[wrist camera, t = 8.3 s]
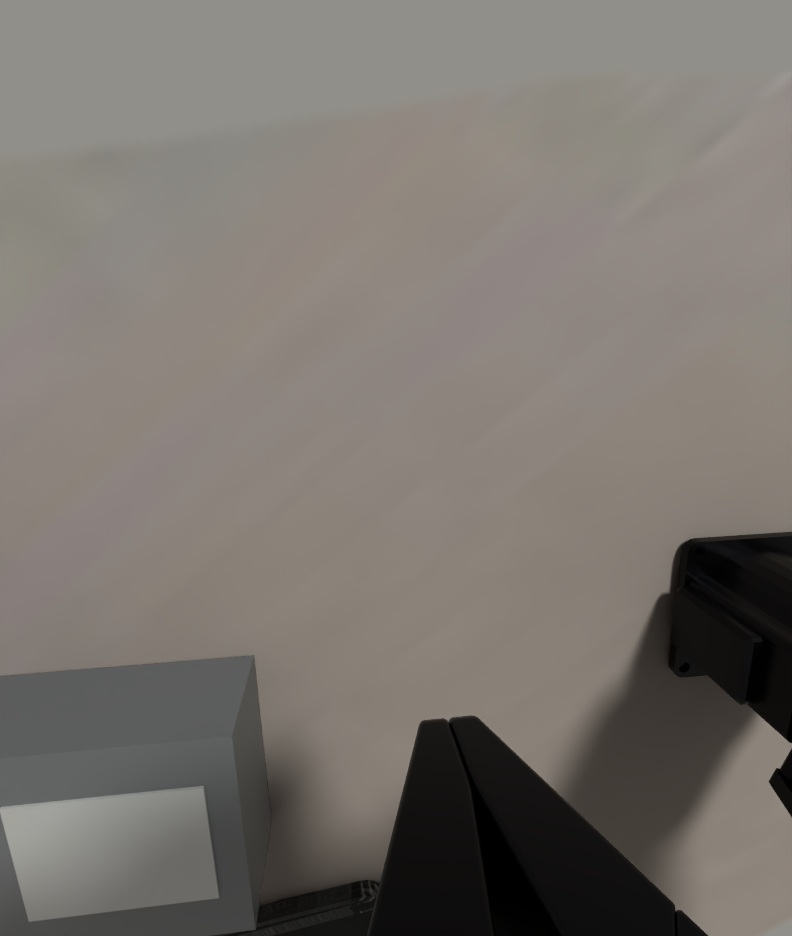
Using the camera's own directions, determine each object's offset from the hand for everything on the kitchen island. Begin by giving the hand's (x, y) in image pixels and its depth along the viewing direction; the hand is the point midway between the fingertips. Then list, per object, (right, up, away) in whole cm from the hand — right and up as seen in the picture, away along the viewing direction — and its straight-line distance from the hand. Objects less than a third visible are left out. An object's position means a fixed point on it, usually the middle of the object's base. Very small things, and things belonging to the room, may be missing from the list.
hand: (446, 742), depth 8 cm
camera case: (-12, -8, +14) cm, 20 cm away
